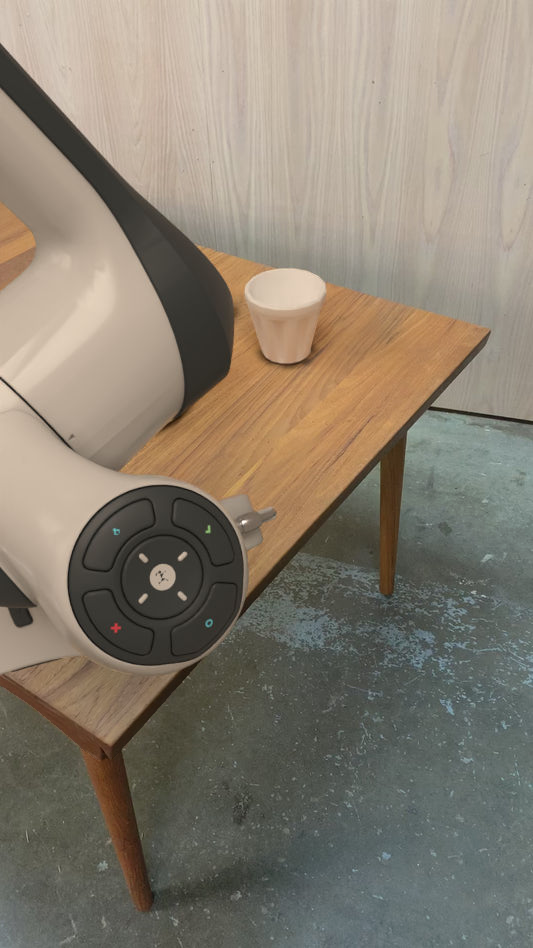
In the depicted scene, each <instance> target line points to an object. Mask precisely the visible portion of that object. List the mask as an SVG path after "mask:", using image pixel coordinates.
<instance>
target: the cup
mask: <svg viewBox="0 0 533 948" xmlns="http://www.w3.org/2000/svg"><path fill="white" fill-rule="evenodd" d="M243 294H244V302H245V303H246V305H247V308H248V312H249V315H250V319H251V321H252V325H253V327H254V331H255V334H256V337H257V340H258V343H259V346H260V347H259V348H260V349H261V353H262V355H263V356H264V357H265V359H266V360H267V361H269V362H271V363H272V364H275V365H281V366H292V365H295V364H299V363H302V362H303V361H305V360H307V358H308V357H309V355H310V354H311V352H312V345H313V341H314V338H315V334H316V329H317V326H318V322H319V317H320V314H321V310H322V308H323V306H324V304H325V302H326V300H327V284H326V282H325V281H324V280H323V279H322V278H321V277H320V276H319V275H317V274H315V273H313V272H311V271H309V270H304V269H300V268H294V267H288V268H285V267H284V268H274V269H269V270H265V271H262V272H260V273H258V274H256V275H254V276H252V277H251V278H250V279H249V280H248V281H247V283H246V284H245V286H244V293H243Z"/></svg>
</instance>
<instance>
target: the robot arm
mask: <svg viewBox="0 0 533 948" xmlns="http://www.w3.org/2000/svg"><path fill="white" fill-rule="evenodd" d="M0 203H1V204H2V205H3V206H5V207H6V209H7V210H9V211H10V212H11V213H12V214H13V215H14V216H15V217H16V218H17V219H18V220H19V221H20V222H21V223H22V224H24V226H25V227H27V228H28V230H29V231H30V232H31V234H32V236H33V238H34V242H35V251H34V255H33V258H32V260H31V261H30V263H29V265H28V266H27V267H26V268H25V269H24V270H23V271H22V272H21V273H20V274H19V275H18V276H16V277H15V278H14V279H13V280H11V281H10V282H9V283H8V284H7V285H6V286H5V287H3V288H2V289H1V290H0V676H2V675H5V674H8V673H15V672H18V671H22V670H26V669H28V668H32V667H35V666H39V665H43V664H47V663H51V662H55V661H59V660H62V659H65V658H72V657H73V658H74V657H85V658H86V659H87V660H88V661H91V662H93V663H95V664H96V665H98V666H100V667H102V668H105V669H107V670H110V671H113V672H116V673H118V674H123V675H128V676H133V677H134V676H135V677H160V676H166V675H170V674H173V673H175V672H179V671H181V670H184V669H185V668H187V667H190V666H192V665H193V664H195V663H197V662H199V661H200V660H202V659H204V658H205V657H206V656H208V655H210V654H211V653H212V652H213V651H214V650H215V649H216V648H218V647H219V646H220V645H221V643H223V642H224V640H225V639H226V638H227V637H228V635H229V634H230V632H231V631H232V630H233V628H234V626H235V625H236V623H237V621H238V619H239V616H240V614H241V613H242V610H243V608H244V604H245V601H246V598H247V594H248V589H249V588H248V587H249V581H250V567H249V566H250V565H249V557H248V551H250V550H252V549H254V548H256V547H258V546H260V545H262V544H263V542H264V537H263V533H262V530H261V527H262V526H263V524H265V523H268V522H271V521H273V520H276V519H277V510H276V509H275V507H274V506H273V505H271V506H265V507H262V508H259V509H255V510H254V506H253V503H252V501H251V499H250V496H249V495H248V494H247V493H236V494H231V495H228V496H225V497H221V498H219V499H217V498H216V497H214V496H213V495H212V494H210V493H209V492H207V491H206V490H204V489H203V488H201V487H199V486H198V485H195V484H194V483H191V482H189V481H186V480H183V479H181V478H176V477H174V476H170V475H169V476H168V475H164V474H163V475H162V474H153V473H152V474H151V473H149V474H148V473H147V474H146V473H144V474H143V473H142V474H135V473H125V472H121V470H123V468H125V467H126V466H127V465H128V464H129V463H130V462H131V461H132V459H134V458H135V457H136V456H137V454H138V453H140V452H141V451H142V449H144V448H145V447H146V446H147V444H149V443H150V441H152V440H153V439H154V438H155V437H156V435H158V433H160V431H162V430H163V429H164V428H165V427H166V426H167V425H168V424H169V423H170V422H169V421H170V420H172V421H174V420H176V419H177V418H180V416H181V415H183V414H184V413H185V412H186V411H187V410H189V409H190V408H191V407H192V406H194V405H195V404H196V403H197V402H198V401H199V400H201V399H202V398H203V397H204V396H205V395H207V394H208V393H209V392H210V391H212V390H213V389H214V388H216V386H218V385H219V384H220V383H221V382H222V381H224V380H225V379H226V378H227V377H228V375H229V373H230V371H231V370H230V369H231V365H232V359H233V351H234V341H235V308H234V301H233V296H232V292H231V290H230V287H229V285H228V284H227V282H226V280H225V279H224V277H223V276H222V274H221V273H220V272H219V270H218V269H217V267H216V266H215V265H214V264H213V263H212V261H211V260H210V259H209V258H208V256H206V255H205V254H204V252H203V251H202V250H201V249H200V248H199V247H198V246H197V245H196V244H195V243H194V242H193V241H192V240H191V239H190V238H188V236H187V235H186V234H185V233H184V232H182V230H180V229H179V228H178V227H177V226H176V225H175V224H174V223H173V222H172V221H171V220H169V219H168V218H167V216H165V215H164V214H163V213H162V212H160V211H159V210H158V209H157V208H156V207H155V206H154V205H153V204H151V202H149V201H148V200H147V199H146V198H145V197H144V196H143V195H141V194H140V192H139V191H137V190H136V188H134V187H133V186H132V185H131V184H130V183H129V182H128V181H127V180H126V179H125V177H123V176H122V175H121V174H120V173H119V172H118V171H117V169H116V168H114V166H113V165H112V164H111V163H110V162H109V161H108V160H107V159H106V158H105V156H104V155H103V154H102V153H101V152H100V151H99V150H98V149H97V147H95V146H94V145H93V143H92V142H91V141H90V140H89V139H88V137H86V136H85V135H84V133H83V132H82V131H81V130H80V129H79V128H78V127H77V126H76V125H75V124H74V122H73V121H72V120H71V119H70V118H69V117H68V116H67V115H66V114H65V112H64V111H63V110H62V109H61V108H60V107H59V106H58V105H57V104H56V102H54V100H53V99H52V98H51V97H50V96H49V95H48V94H47V93H46V91H45V90H44V89H43V87H41V86H40V85H39V84H38V83H37V81H35V79H34V78H33V77H32V76H31V75H30V74H29V73H28V71H26V70H25V68H24V67H23V66H22V65H21V64H20V63H19V62H18V61H17V59H16V58H15V57H14V56H13V55H12V54H11V53H10V51H8V50H7V48H6V47H5V46H4V45H3V44H2V43H1V42H0ZM173 419H174V420H173ZM168 422H169V423H168ZM167 423H168V424H167Z"/></svg>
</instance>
